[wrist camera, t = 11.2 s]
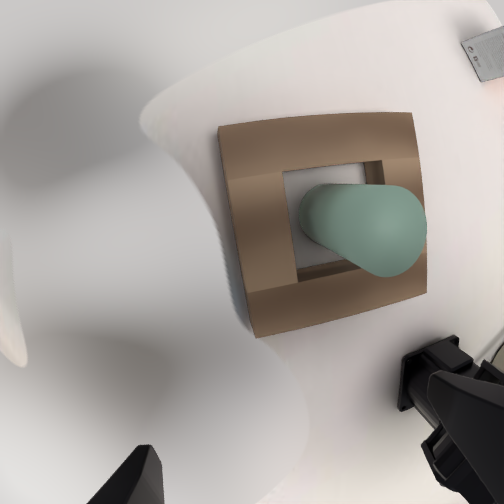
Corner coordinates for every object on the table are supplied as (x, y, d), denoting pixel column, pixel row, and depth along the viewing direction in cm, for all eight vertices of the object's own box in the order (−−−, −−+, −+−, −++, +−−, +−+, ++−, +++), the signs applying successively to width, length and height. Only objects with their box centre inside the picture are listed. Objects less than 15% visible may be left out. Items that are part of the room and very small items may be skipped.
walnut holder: (408, 283, 22) (426, 293, 20) (250, 321, 21) (255, 338, 19) (392, 118, 20) (411, 112, 17) (217, 134, 19) (218, 126, 16)
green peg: (357, 238, 21) (427, 266, 13) (303, 249, 21) (355, 286, 13) (351, 180, 20) (423, 181, 12) (294, 188, 20) (346, 191, 12)
